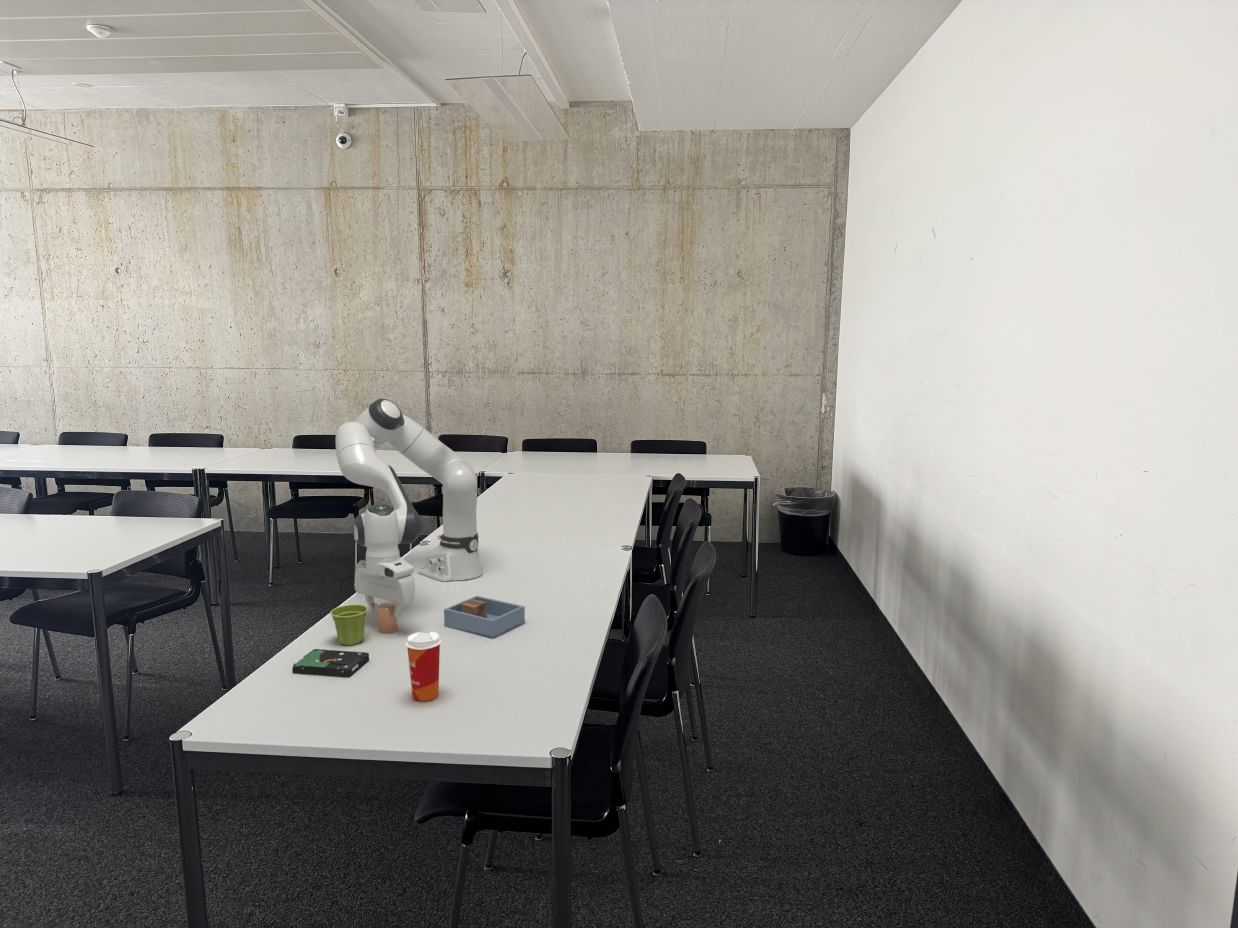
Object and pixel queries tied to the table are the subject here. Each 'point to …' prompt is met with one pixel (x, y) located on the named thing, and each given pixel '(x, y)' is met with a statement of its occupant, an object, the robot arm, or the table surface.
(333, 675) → the disk drive
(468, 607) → the walnut cube
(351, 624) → the plant pot
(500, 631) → the tote
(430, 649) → the paper cup
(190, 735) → the table surface
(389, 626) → the terracotta cylinder
